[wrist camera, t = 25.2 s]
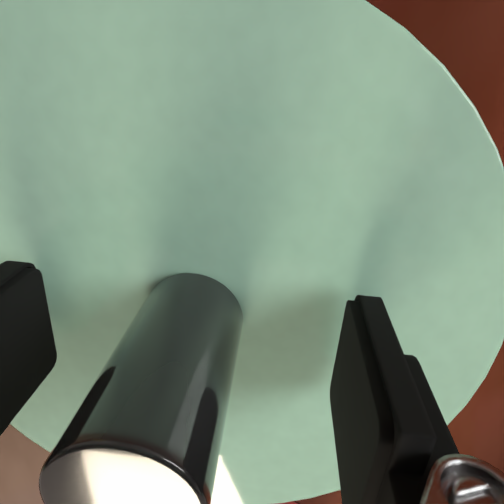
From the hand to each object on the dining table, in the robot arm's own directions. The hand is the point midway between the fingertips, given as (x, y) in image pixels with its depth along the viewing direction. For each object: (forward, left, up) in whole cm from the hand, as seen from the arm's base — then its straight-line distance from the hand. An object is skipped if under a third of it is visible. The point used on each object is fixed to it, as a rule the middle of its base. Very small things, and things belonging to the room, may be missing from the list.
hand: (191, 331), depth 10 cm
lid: (0, 0, -1) cm, 1 cm away
